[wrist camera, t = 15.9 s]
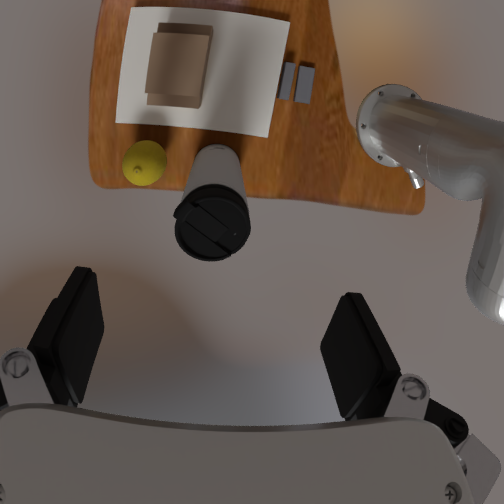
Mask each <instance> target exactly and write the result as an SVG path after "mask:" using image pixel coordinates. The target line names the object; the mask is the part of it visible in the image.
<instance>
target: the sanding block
mask: <svg viewBox="0 0 504 504" xmlns="http://www.w3.org/2000/svg"><path fill="white" fill-rule="evenodd" d="M213 32H214V31H213V26H211V25H200V24H186V23H162V22H159V23H158V29H157V33H153V38H152V44H151V50H150V56H149V63H148V70H147V77H146V85H145V93H148V95H147V104H146V105H155V106H170V107H183V108H194V109H199V108H200V106H201V103H202V96H203V90H204V83H205V77H206V71H207V65H208V59H209V54H210V48H211V43H212V37H213Z"/></svg>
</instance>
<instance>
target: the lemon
mask: <svg viewBox="0 0 504 504" xmlns="http://www.w3.org/2000/svg"><path fill="white" fill-rule="evenodd" d="M166 164H167V157H166V153H165V151H164V149H163V148H162V147H161V146H160V145H159V144H158V143H156V142H153V141H150V140H144V141H139V142H137V143H135V144H133V145H132V146H131V147H130V148H129V149H128V150H127V152H126V153H125V155H124V158H123V163H122V168H123V172H124V175H125V177H126V178H127V179H128V180H129V181H130V182H131V183H133V184H135V185H140V186H143V185H149V184H152V183H153V182H155V181H157V180H158V179H159V178H160V177H161V176H162V174H163V173H164V171H165V168H166Z"/></svg>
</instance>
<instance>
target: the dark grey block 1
mask: <svg viewBox="0 0 504 504" xmlns="http://www.w3.org/2000/svg"><path fill="white" fill-rule="evenodd" d="M295 65H296V64H294V63H289V62H284V64H283V69H282V74H281V79H280V84H279V89H278V94H277V98H279V99H284V100H289V95H290V90H291V85H292V80H293V75H294V70H295Z"/></svg>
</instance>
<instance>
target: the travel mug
mask: <svg viewBox="0 0 504 504" xmlns="http://www.w3.org/2000/svg"><path fill="white" fill-rule="evenodd" d="M173 216H174V218H176V219H177V220H176V223H175V237H176V240H177V242H178V244H179V246H180V247H181V248H182V249H183V251H184V252H186V253H187V254H188V255H190V256H192V257H193V258H196V259H199V260H202V261H220V260H224V259H225V258H227V257H229V256H231V254H234V253H236V252H237V251H238V250H240V249H241V247H243V245H244V244H245V242H246V241H247V239H248V237H249V235H250V231H251V226H250V218H249V210H248V204H247V199H246V193H245V188H244V183H243V178H242V173H241V168H240V162H239V159H238V156H237V154H236V153H235V152H234V151H233V150H232V149H231V148H230V147H228V146H226V145H222V144H211V145H208V146H206V147H204V148H202V149H201V150H200V151H199V152H198V154H197V155H196V157H195V160H194V163H193V166H192V169H191V172H190V175H189V178H188V181H187V184H186V187H185V190H184V194H183V197H182V200H181V203H180V204H179V205H178V207H177V208H176V209H175V212H174V215H173Z"/></svg>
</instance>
